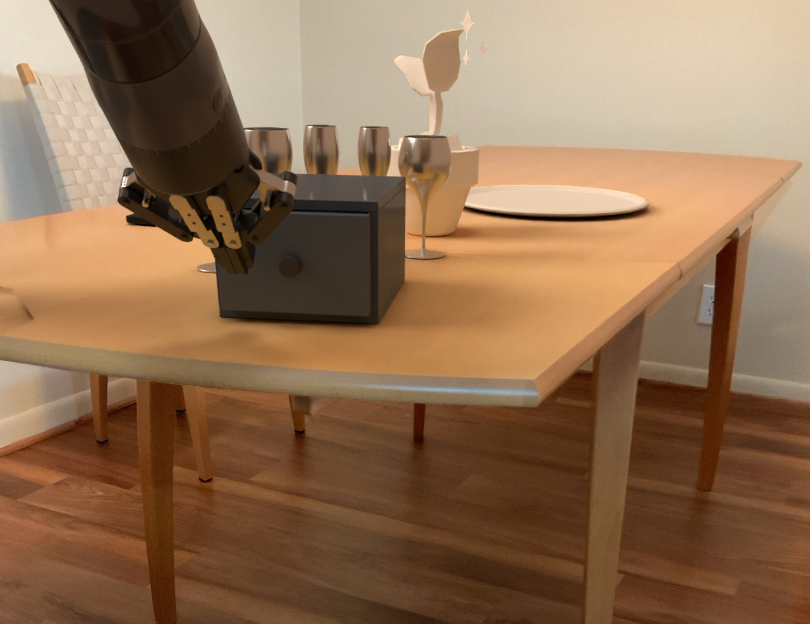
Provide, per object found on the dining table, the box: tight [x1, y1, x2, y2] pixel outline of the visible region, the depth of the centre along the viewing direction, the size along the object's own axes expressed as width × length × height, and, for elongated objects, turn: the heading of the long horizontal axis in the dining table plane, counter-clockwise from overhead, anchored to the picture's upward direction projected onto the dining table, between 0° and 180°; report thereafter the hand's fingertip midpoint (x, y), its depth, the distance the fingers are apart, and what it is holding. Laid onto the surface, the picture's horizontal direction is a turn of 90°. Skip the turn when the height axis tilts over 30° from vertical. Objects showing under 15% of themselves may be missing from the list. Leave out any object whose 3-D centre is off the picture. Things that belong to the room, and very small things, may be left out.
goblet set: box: [196, 124, 452, 274], centre depth 95 cm, size 28×6×13 cm, turn 111°
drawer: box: [218, 208, 371, 316], centre depth 79 cm, size 17×12×8 cm
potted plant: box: [387, 6, 489, 237], centre depth 109 cm, size 13×12×25 cm
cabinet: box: [214, 173, 406, 325], centre depth 81 cm, size 17×14×10 cm
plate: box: [464, 184, 650, 219], centre depth 135 cm, size 29×29×1 cm
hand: (239, 264), depth 71 cm, fingers closed
